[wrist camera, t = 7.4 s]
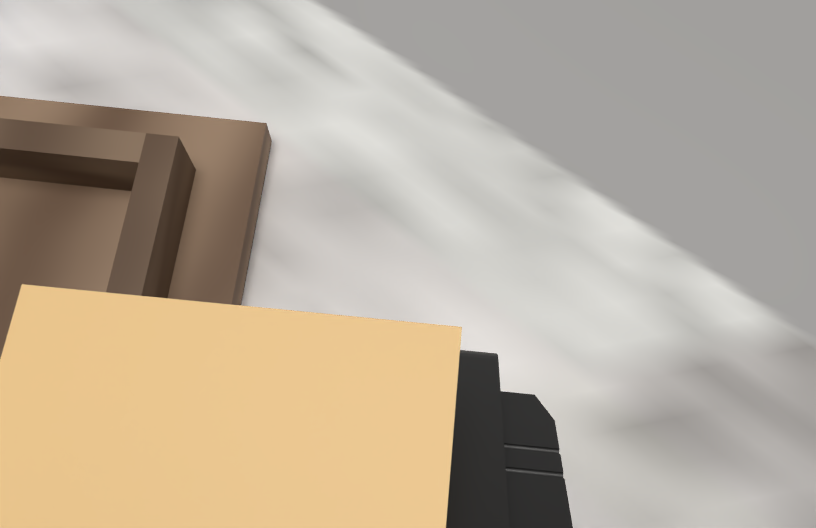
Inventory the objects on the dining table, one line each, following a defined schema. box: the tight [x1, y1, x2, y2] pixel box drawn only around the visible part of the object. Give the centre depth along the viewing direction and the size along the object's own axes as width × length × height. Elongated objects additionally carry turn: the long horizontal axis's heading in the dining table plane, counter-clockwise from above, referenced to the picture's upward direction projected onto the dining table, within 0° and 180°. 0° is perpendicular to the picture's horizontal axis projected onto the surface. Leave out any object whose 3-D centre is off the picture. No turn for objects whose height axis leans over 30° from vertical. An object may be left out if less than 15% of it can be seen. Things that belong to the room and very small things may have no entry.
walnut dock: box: [0, 96, 271, 358], centre depth 24 cm, size 12×12×3 cm
